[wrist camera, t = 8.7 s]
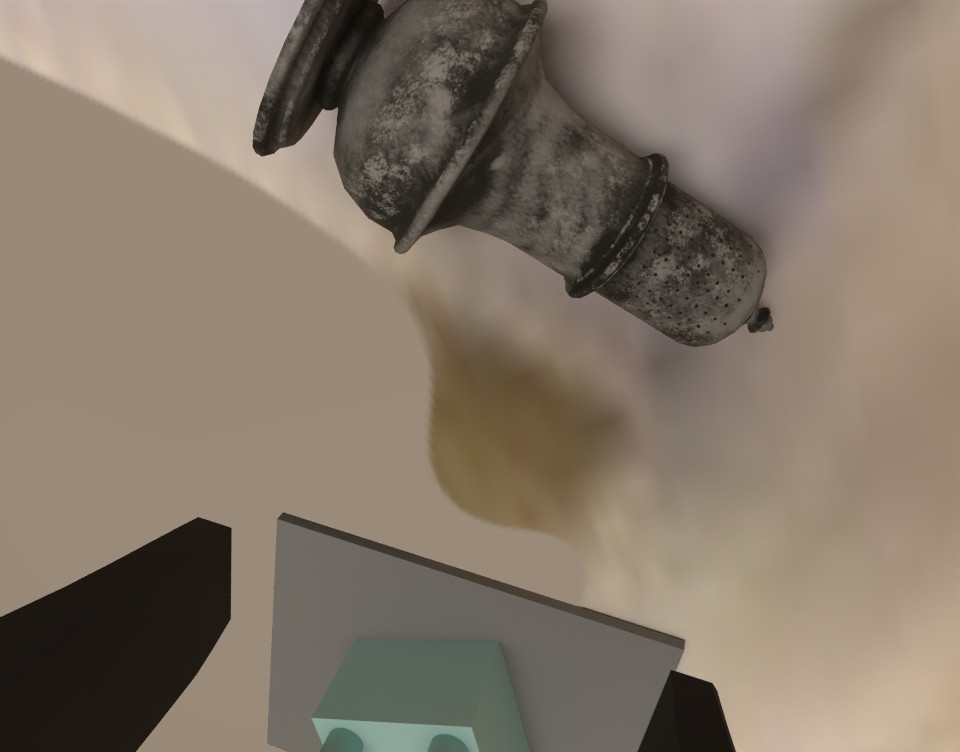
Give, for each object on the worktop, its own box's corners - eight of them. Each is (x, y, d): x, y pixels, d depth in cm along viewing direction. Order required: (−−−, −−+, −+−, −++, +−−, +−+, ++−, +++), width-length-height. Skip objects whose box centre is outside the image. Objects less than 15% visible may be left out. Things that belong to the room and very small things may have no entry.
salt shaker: (371, -10, 18) (749, 243, 21) (251, 195, 17) (658, 429, 20) (410, -187, 12) (923, 194, 15) (234, 106, 12) (806, 451, 14)
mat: (684, 640, 23) (684, 650, 23) (595, 856, 29) (594, 866, 29) (283, 512, 26) (277, 518, 25) (272, 735, 31) (267, 743, 31)
